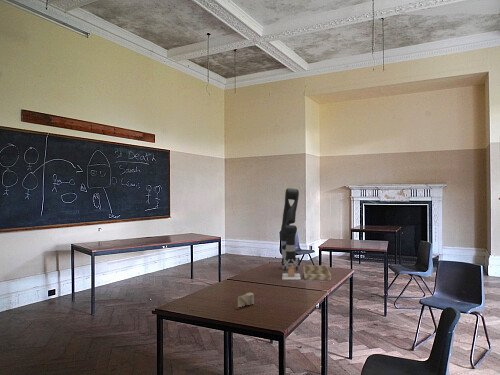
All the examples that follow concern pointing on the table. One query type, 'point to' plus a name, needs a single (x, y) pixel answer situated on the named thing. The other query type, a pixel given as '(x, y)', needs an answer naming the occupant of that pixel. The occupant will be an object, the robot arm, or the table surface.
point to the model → (246, 299)
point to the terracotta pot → (291, 270)
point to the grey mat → (286, 277)
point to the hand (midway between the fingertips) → (291, 270)
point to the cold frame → (316, 273)
